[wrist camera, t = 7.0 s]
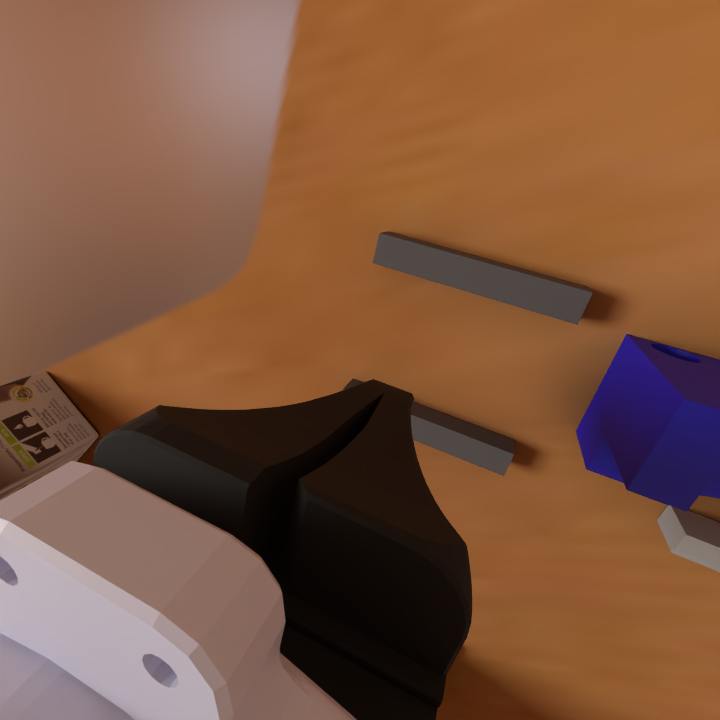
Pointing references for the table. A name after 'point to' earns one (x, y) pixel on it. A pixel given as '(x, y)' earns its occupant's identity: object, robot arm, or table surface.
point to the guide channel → (491, 283)
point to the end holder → (692, 536)
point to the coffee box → (38, 431)
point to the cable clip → (656, 423)
